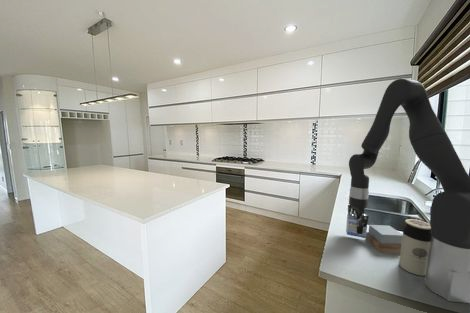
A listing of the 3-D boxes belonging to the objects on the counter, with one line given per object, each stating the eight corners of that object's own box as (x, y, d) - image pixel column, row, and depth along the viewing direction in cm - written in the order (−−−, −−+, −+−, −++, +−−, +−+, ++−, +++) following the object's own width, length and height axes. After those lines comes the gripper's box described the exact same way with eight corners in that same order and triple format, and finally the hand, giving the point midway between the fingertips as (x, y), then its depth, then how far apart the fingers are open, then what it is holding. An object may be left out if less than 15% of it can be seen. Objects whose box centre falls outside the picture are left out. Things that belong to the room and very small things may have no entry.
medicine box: (346, 234, 93) (347, 217, 92) (345, 230, 97) (347, 213, 96) (366, 238, 89) (367, 220, 88) (364, 234, 93) (366, 217, 92)
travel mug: (398, 259, 78) (404, 216, 76) (426, 267, 74) (432, 222, 71) (399, 269, 72) (404, 223, 70) (428, 279, 67) (436, 231, 65)
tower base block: (404, 254, 82) (405, 245, 82) (378, 252, 83) (379, 243, 83) (387, 241, 92) (388, 233, 92) (365, 240, 93) (366, 232, 93)
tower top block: (403, 244, 82) (404, 235, 82) (381, 243, 83) (382, 234, 83) (388, 233, 91) (389, 225, 91) (368, 232, 92) (369, 224, 92)
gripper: (376, 201, 84) (373, 238, 85) (358, 192, 98) (356, 224, 100) (358, 200, 84) (355, 237, 86) (343, 191, 98) (340, 223, 100)
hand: (355, 230), depth 93 cm, fingers closed on medicine box, 5 cm apart
